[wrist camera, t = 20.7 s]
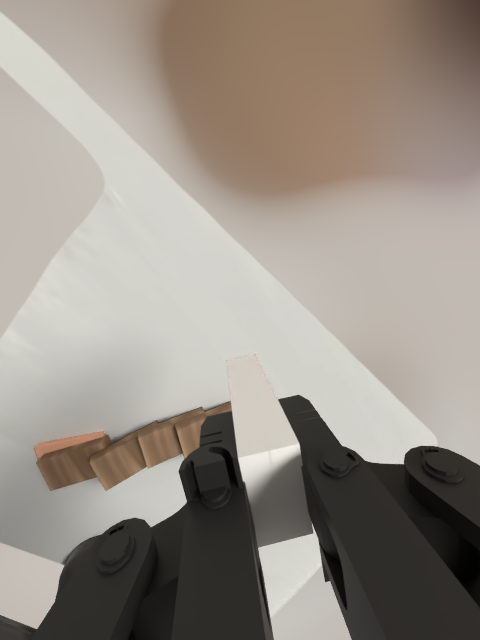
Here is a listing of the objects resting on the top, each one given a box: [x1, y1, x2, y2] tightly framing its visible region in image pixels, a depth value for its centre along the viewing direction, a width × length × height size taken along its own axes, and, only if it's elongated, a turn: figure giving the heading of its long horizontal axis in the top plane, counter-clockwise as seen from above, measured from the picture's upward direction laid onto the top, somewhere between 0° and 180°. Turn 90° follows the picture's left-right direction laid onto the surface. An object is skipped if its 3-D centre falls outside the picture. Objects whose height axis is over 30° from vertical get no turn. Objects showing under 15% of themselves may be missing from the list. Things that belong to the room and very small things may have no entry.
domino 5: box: [175, 401, 232, 458], centre depth 39 cm, size 2×5×10 cm
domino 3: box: [90, 421, 159, 491], centre depth 39 cm, size 2×5×10 cm
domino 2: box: [36, 435, 112, 491], centre depth 39 cm, size 2×5×10 cm
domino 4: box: [138, 407, 204, 468], centre depth 39 cm, size 2×5×10 cm
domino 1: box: [34, 431, 105, 460], centre depth 40 cm, size 2×5×10 cm
